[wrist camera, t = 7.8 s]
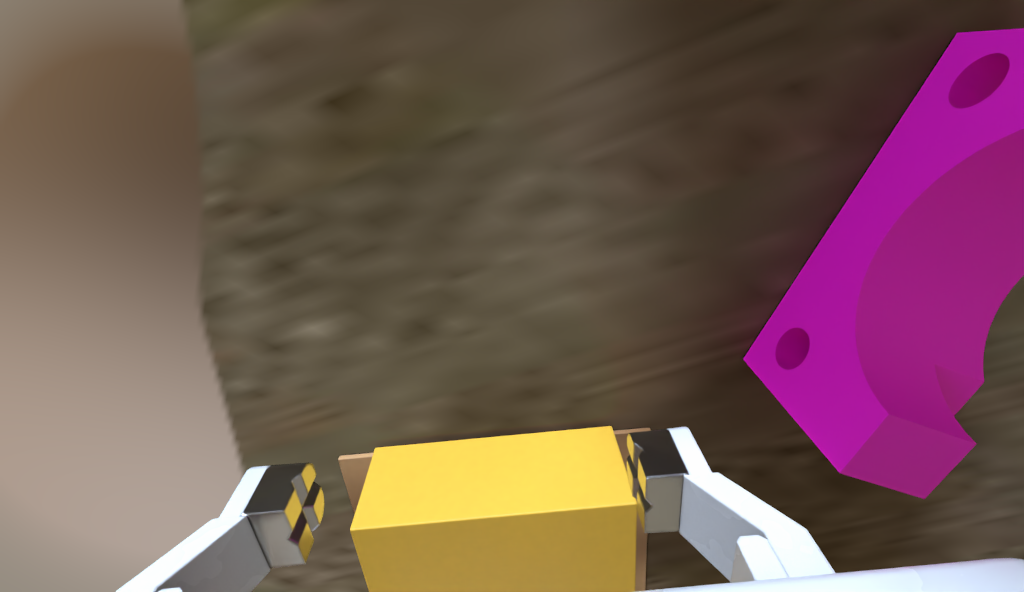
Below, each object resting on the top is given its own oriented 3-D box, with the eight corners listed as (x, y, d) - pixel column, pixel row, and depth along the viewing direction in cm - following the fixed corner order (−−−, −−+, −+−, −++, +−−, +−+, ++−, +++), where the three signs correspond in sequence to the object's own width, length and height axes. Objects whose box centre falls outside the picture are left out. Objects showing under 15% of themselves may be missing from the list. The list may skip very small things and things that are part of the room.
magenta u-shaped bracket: (848, 395, 26) (977, 515, 19) (742, 359, 24) (839, 473, 18) (1080, 97, 20) (1385, 114, 13) (957, 32, 19) (1221, 14, 12)
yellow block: (349, 530, 21) (397, 684, 26) (637, 503, 21) (634, 663, 26) (374, 447, 26) (411, 591, 30) (611, 425, 26) (612, 573, 30)
